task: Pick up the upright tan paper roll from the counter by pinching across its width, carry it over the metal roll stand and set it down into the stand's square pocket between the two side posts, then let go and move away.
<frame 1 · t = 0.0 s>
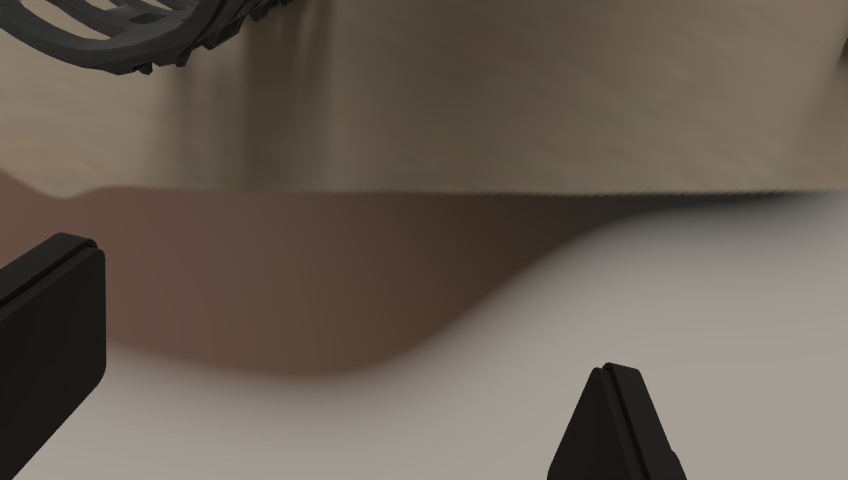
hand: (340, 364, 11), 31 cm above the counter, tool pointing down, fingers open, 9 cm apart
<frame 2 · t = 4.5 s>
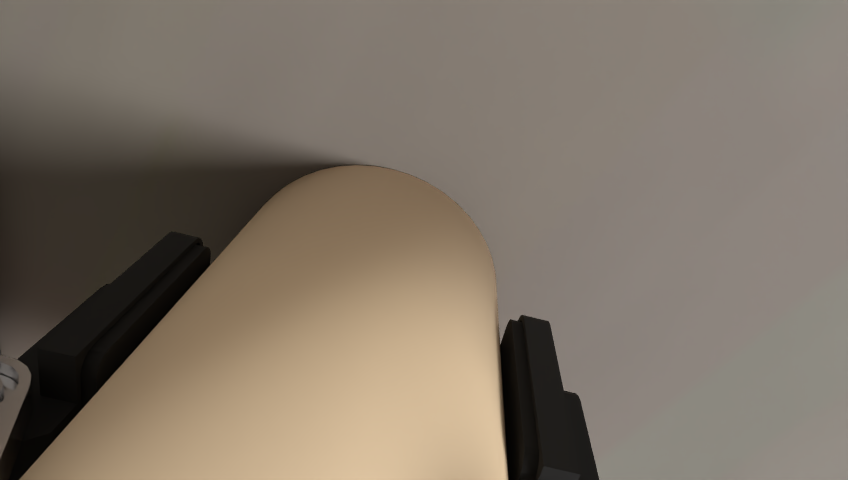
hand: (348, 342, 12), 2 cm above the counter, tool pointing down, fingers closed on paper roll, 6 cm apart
paper roll: (366, 288, 14), on the counter, touching gripper
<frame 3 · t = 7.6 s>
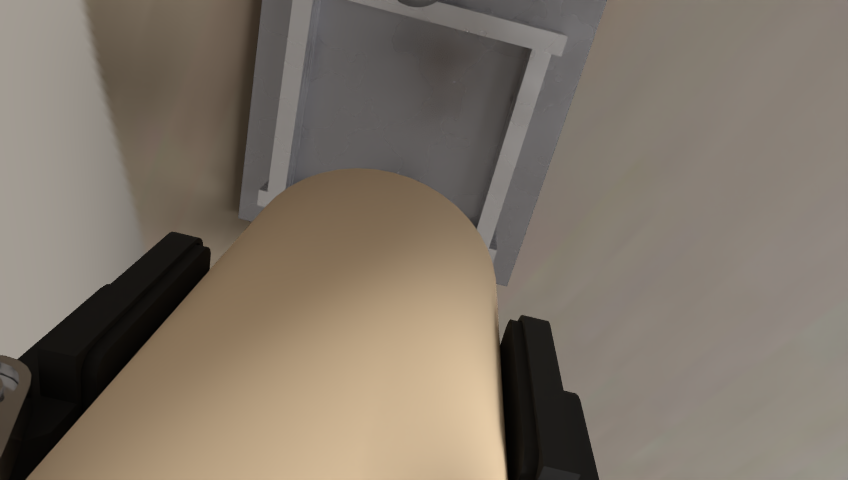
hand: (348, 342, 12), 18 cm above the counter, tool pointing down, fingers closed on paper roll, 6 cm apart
roll stand: (405, 114, 28), on the counter
paper roll: (366, 291, 14), point 16 cm above the counter, touching gripper
when the fingers open (5 cm above the counter, at t = 10.9 s): paper roll drops 2 cm, resting on roll stand.
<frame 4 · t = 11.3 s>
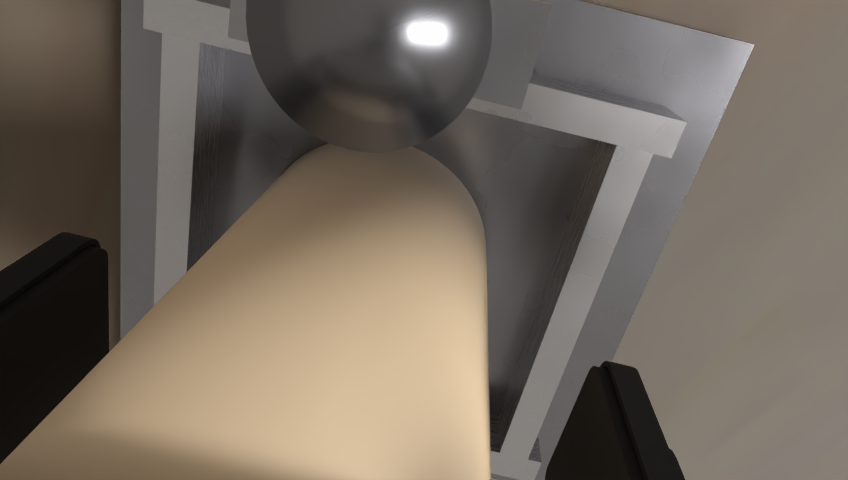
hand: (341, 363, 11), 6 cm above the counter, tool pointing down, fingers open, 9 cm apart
roll stand: (385, 234, 17), on the counter
paper roll: (372, 248, 16), point 1 cm above the counter, touching roll stand
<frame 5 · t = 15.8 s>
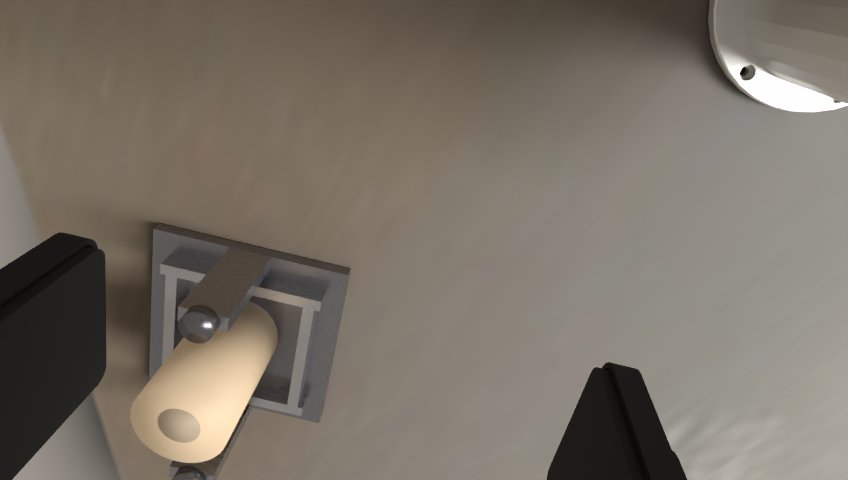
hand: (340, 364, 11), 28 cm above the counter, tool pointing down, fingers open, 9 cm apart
roll stand: (246, 325, 45), on the counter
paper roll: (239, 332, 45), point 1 cm above the counter, touching roll stand
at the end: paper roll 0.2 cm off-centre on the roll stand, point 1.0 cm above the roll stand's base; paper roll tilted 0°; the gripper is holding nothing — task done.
